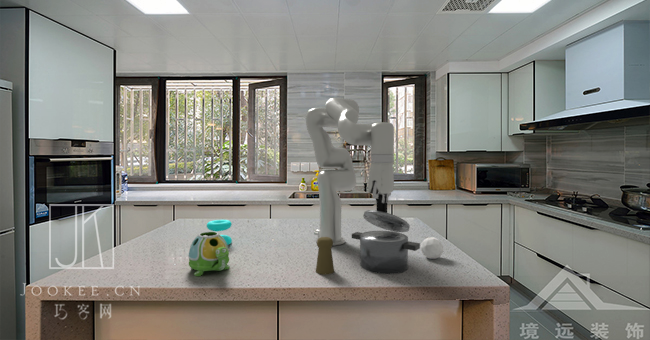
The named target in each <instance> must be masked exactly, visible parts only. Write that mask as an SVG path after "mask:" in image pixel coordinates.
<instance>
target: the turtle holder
mask: <svg viewBox="0 0 650 340" xmlns="http://www.w3.org/2000/svg"><path fill="white" fill-rule="evenodd" d="M220 235H221V234H220V233H219V231H211V230H209V231H204V232H199V233H198V234H197V236H195V238H194V239H193V240H192V242H191V244H190V248H189V249H188V250H189V251H188V255H187V256H188V257H187V258H188V266H189V268H190V269H191V268H192V269H191V270H193V269H194V270H195V272H194V273H193V276H195V277H201V275H202V276H203V274H204V273H205V272H209V271H210V272H211V271H223V270H224V271H225V270H226V269H227V270H230V268H231V265H229V261H230V255H229V254H230V250H229V245H227V243H226V241H225V240H224V238H223V237H222V236H220ZM227 270H226V271H227Z"/></svg>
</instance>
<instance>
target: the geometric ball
mask: <svg viewBox="0 0 650 340" xmlns="http://www.w3.org/2000/svg"><path fill="white" fill-rule="evenodd" d="M420 251H421V252H422V254H423V256H424V257H426V258H428V259H429V260H431V259H432V260H435V259H438V258H440V257H441V256H442V254H443V253H444V245H443V243H442V242H441V241H440V239H438V238H436V237H431V236H430V237H427V238H424V239H423V241H422V242H421V243H420Z"/></svg>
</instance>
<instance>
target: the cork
mask: <svg viewBox="0 0 650 340" xmlns="http://www.w3.org/2000/svg"><path fill="white" fill-rule="evenodd" d="M316 246H317V248H318V251H317V258H316V267H315V272H316V274H319V275H322V276H323V275H324V276H325V275H332V274H334V272H335V267H334V266H335V265H334V259H333V251H332V247H333V240H332V239H331V238H330V237H320V238H319V239H318V240H317V242H316Z"/></svg>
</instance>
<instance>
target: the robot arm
mask: <svg viewBox="0 0 650 340" xmlns="http://www.w3.org/2000/svg"><path fill="white" fill-rule="evenodd" d="M359 113H360V106H359V104H358V102H357V101H356V100H355V99H351V98H342V97H332V98H328V100H327V101H326V103H325V106H324V107H313V108H311V109H309V110H308V111H307V113H306V116H305V117H306V118H305V123H306V124H305V125H306V130H307V132H308V135H309V136H310V139H311V142H312V147H313V151H314V155H315V160H316V163H317V166H318V167H319V168H321V169H326V170H322V171H320V172H318V175H317V179H316V183H317V188H318V194H319V195H318V199H319V229H316V230H315V231H313V235H314V236H317V238H316V239H315V242H316V243H317V240H318V239H319V238H320V237H330V238H331V239H332V240H333V246H334V247H335V246H340V245H343V244H344V243H346V239H345V238H344V237H342V200H341V197H340V196H339V194H338V193H337V192H345V191H346V192H347V191H352V190H353V189H354V188H355V187H356V184H357V176H356V173H355V168H354V165H353V164H354V163H353V159H352V156H351V153H350V151H348V150H347V148H345V147H335V146H333V143H332V138H331V136H330V135H329V133H328V132H327V131H326V130H325V129H324V128H331V129H332V128H336V129H337V133H338V135H339V136H340V138H342V139H343V140H344V142H346V143H347V144H348V145H352V146H366V147H367V146H368V147H370V165H369V166H370V167H369V171H368V179H367V181H368V182H367V183H368V185H367V192H368V193H369V194H371V195H372V199H374V200H375V203H376V211H382V212H386V213H388V202H389V197H390V196H391V195H392V193H393V192H394V189H395V177H394V175H395V174H394V167H393V165H394V162H395V161H394V159H395V158H394V157H395V155H394V153H395V127H394V124H393V123H391V122H386V121H385V122H381V121H380V122H374V123H372V124H370V123H367V124H366V123H358V121H359ZM333 246H332V247H333Z"/></svg>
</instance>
